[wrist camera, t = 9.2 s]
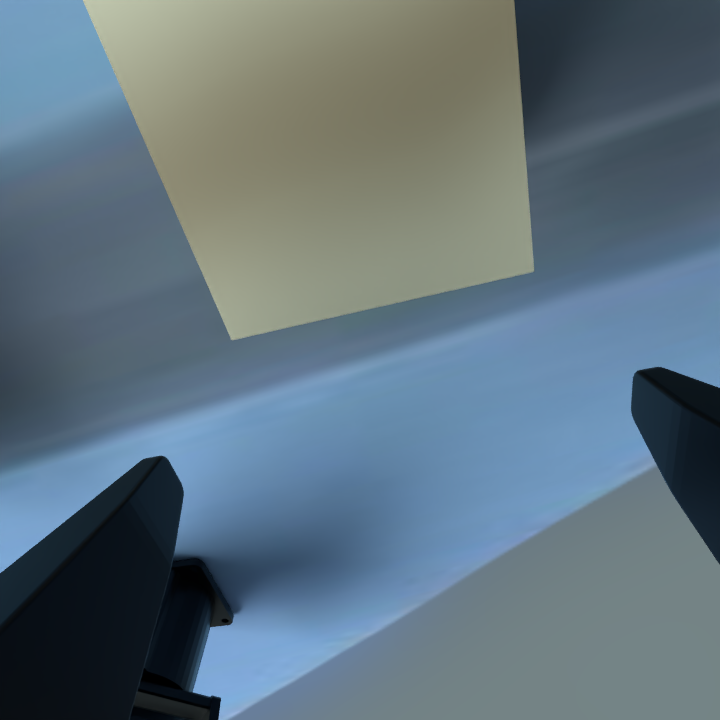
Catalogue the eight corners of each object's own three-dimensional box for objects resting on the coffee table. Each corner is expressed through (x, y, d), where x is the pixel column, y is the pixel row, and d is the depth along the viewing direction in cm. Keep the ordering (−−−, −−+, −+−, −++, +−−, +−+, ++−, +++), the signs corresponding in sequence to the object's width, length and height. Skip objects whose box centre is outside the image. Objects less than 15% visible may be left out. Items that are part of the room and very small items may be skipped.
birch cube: (472, 197, 12) (534, 271, 8) (276, 246, 13) (231, 340, 8) (438, -64, 9) (500, -170, 5) (196, 13, 10) (72, -23, 6)
